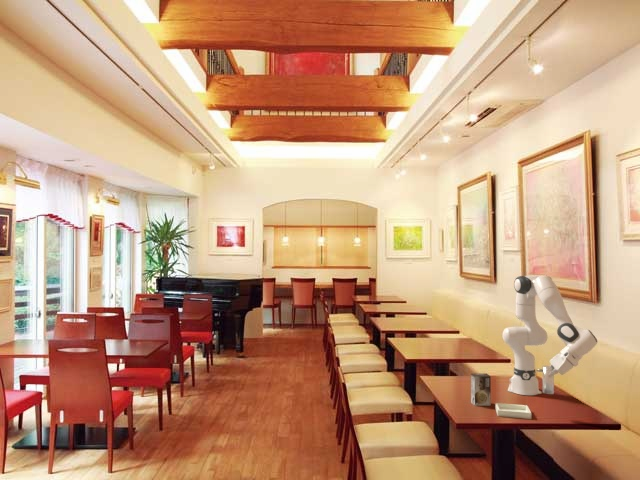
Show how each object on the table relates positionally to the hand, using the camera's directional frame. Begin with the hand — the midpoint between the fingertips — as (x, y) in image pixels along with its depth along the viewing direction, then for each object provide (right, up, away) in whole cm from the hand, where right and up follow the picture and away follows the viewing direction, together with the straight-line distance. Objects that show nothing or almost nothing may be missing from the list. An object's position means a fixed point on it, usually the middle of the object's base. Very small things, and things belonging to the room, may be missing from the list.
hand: (548, 374), depth 258 cm
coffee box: (-28, -22, +20) cm, 41 cm away
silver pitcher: (-1, -9, 0) cm, 10 cm away
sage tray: (-16, -22, +4) cm, 27 cm away
